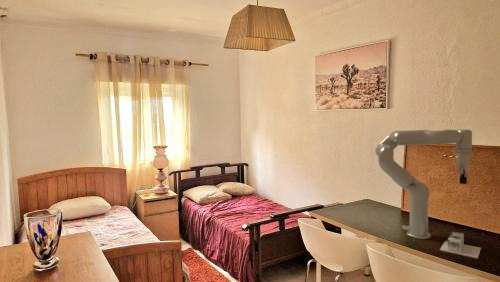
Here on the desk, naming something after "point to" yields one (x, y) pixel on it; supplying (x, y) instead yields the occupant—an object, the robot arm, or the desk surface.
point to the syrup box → (456, 241)
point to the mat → (463, 250)
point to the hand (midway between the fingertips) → (463, 183)
